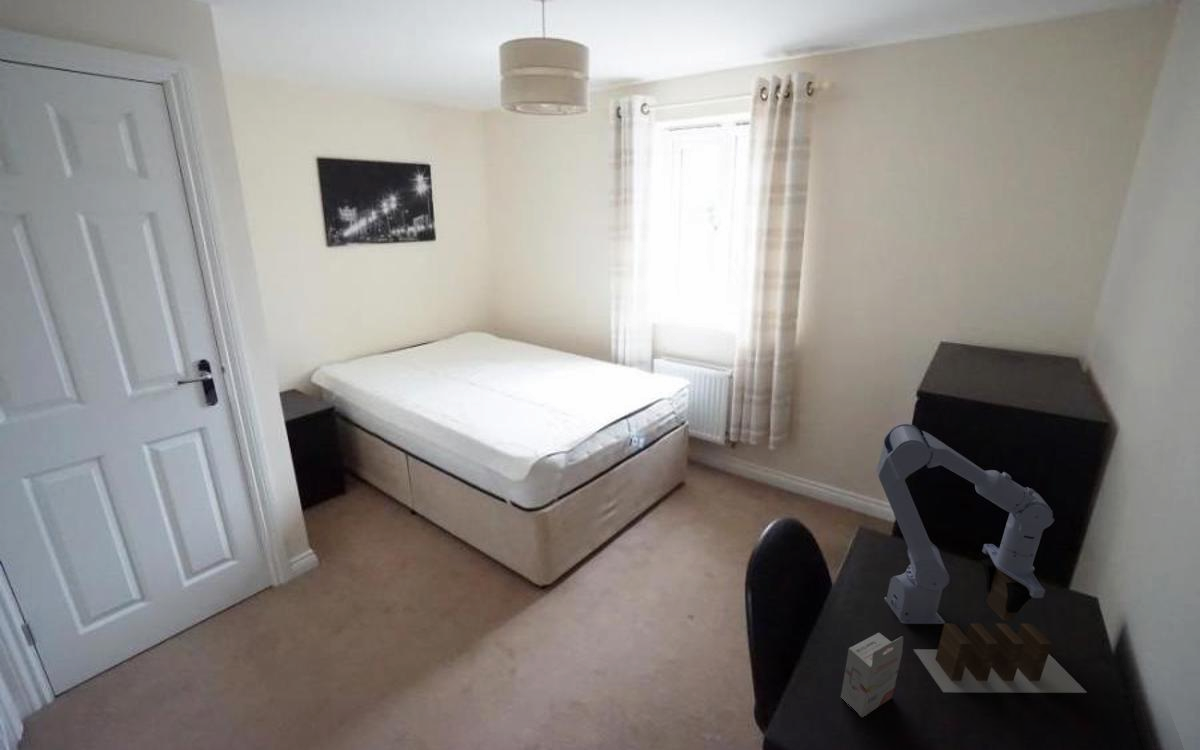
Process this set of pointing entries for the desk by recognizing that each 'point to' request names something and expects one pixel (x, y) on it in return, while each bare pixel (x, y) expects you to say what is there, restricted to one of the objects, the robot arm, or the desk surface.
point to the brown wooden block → (1000, 594)
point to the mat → (1050, 681)
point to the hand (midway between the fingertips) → (1001, 601)
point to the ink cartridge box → (871, 673)
